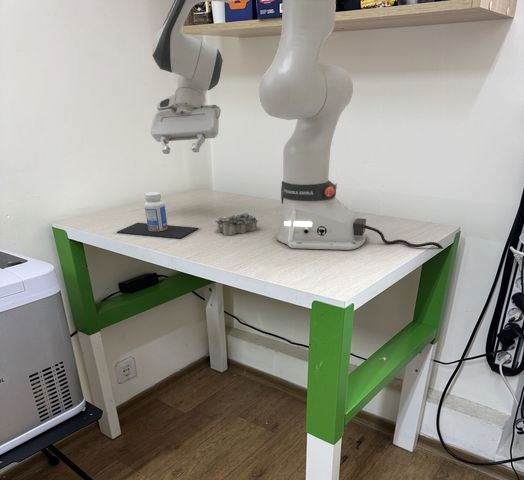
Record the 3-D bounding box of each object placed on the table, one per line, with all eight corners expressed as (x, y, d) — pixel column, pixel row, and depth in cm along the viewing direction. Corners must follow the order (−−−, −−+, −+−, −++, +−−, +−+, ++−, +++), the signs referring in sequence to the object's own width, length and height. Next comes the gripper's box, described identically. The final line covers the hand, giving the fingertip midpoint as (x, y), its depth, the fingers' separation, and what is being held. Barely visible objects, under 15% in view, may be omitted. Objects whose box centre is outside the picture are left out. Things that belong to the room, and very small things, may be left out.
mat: (198, 229, 134) (198, 227, 134) (180, 238, 126) (180, 237, 126) (137, 223, 140) (137, 222, 140) (117, 232, 132) (117, 231, 132)
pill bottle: (163, 225, 136) (158, 190, 131) (170, 230, 132) (166, 193, 127) (145, 229, 134) (139, 193, 129) (152, 233, 130) (147, 196, 125)
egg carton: (226, 236, 127) (225, 221, 125) (214, 230, 132) (212, 215, 130) (260, 230, 131) (260, 215, 129) (247, 224, 137) (246, 209, 135)
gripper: (226, 111, 136) (218, 156, 134) (163, 117, 142) (155, 159, 140) (217, 96, 130) (208, 143, 128) (152, 103, 137) (143, 147, 135)
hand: (180, 152), depth 134 cm, fingers open, 8 cm apart
